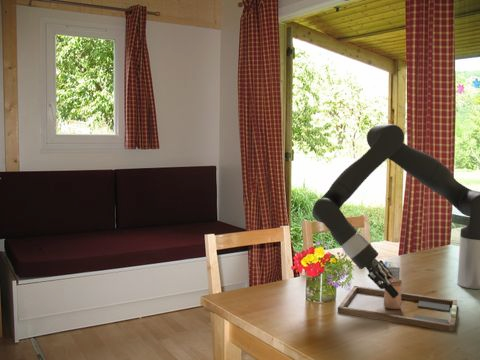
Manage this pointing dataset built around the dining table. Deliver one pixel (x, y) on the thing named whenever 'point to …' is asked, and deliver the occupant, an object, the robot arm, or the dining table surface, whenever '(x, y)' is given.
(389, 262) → the medicine box
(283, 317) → the dining table surface
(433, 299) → the box
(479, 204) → the robot arm
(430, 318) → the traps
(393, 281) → the terracotta jar
